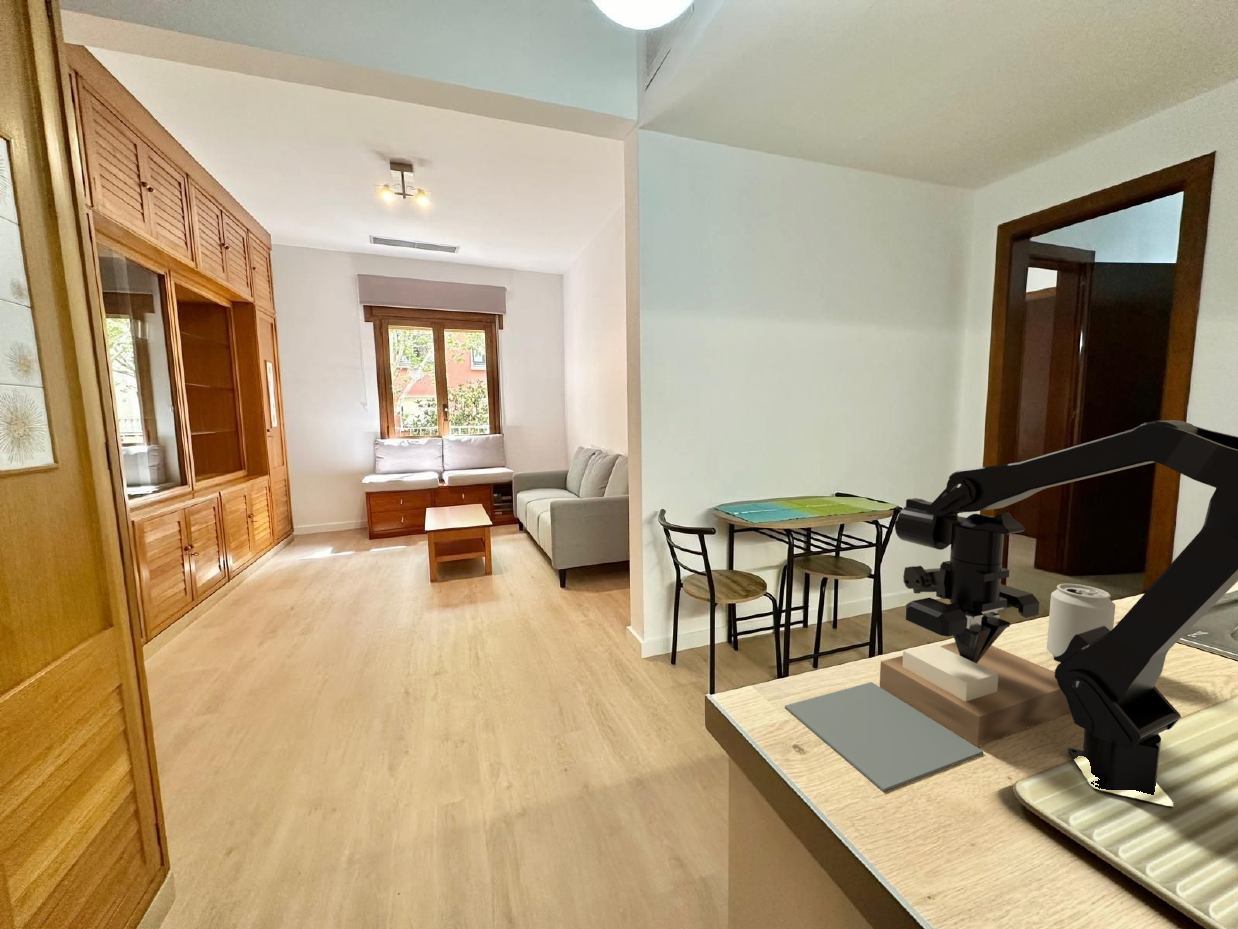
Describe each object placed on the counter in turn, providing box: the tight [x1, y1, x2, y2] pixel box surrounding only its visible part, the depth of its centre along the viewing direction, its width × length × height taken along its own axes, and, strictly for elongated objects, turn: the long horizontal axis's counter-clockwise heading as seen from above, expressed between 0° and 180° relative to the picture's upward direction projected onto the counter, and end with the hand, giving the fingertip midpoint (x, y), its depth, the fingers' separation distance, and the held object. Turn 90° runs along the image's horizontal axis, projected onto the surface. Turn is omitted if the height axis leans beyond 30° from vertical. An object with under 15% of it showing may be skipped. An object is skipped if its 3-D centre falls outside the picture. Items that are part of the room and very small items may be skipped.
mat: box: [784, 681, 984, 792], centre depth 62 cm, size 16×16×1 cm
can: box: [1046, 583, 1116, 658], centre depth 78 cm, size 8×8×12 cm
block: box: [879, 641, 1071, 748], centre depth 68 cm, size 20×14×4 cm
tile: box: [902, 642, 998, 702], centre depth 66 cm, size 6×9×2 cm, turn 20°
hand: (968, 666), depth 68 cm, fingers closed
